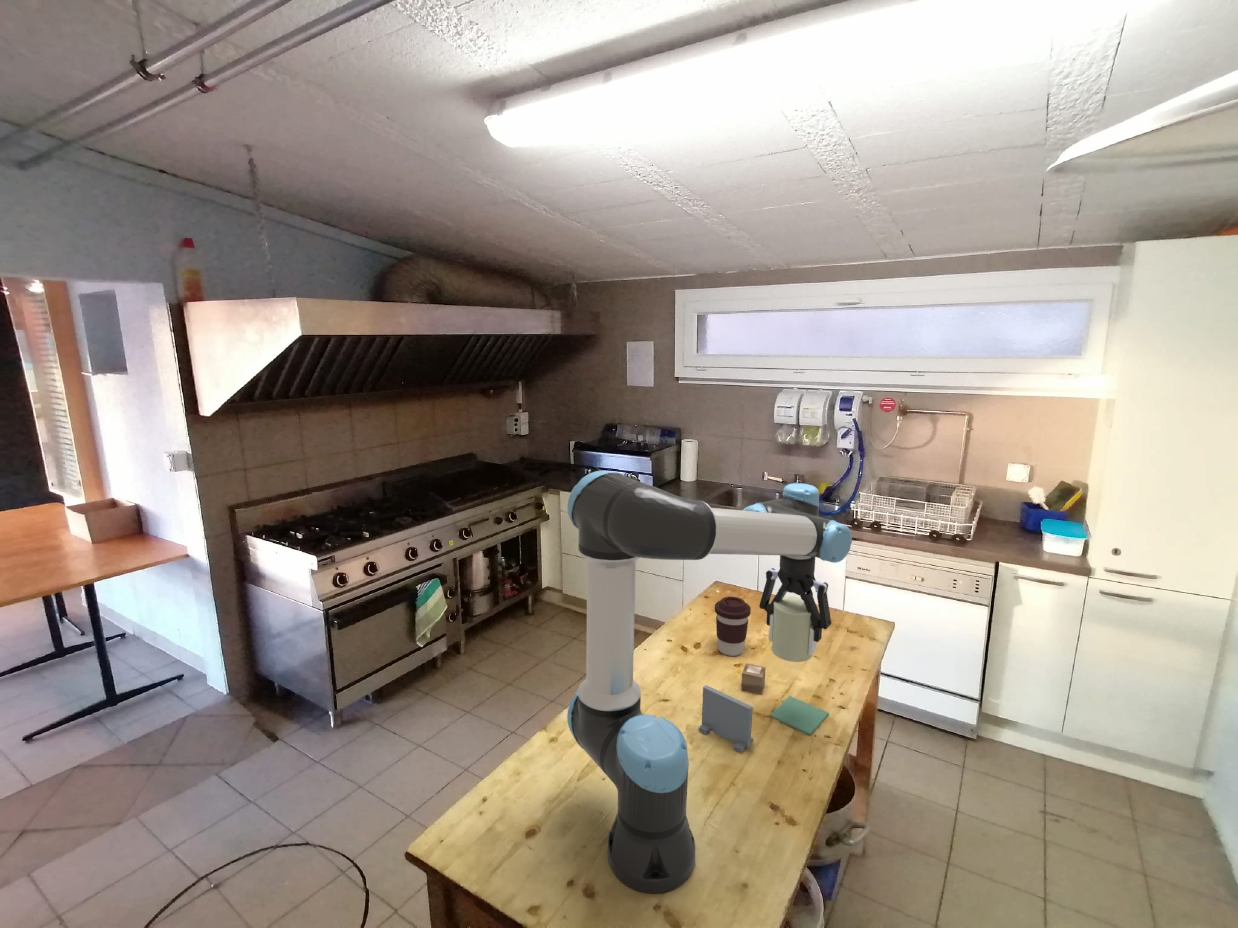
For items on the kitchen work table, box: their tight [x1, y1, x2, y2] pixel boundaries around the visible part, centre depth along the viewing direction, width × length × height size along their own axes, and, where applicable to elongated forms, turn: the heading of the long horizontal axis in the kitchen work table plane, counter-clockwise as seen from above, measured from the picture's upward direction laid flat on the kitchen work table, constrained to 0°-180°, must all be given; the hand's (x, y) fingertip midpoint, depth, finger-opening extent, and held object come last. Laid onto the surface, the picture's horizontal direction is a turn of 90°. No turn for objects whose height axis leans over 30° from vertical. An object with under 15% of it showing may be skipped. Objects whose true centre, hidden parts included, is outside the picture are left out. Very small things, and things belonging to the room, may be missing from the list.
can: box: [770, 596, 814, 663], centre depth 135 cm, size 9×9×12 cm
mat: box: [769, 695, 830, 737], centre depth 139 cm, size 10×10×1 cm
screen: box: [698, 684, 754, 754], centre depth 131 cm, size 5×12×10 cm, turn 48°
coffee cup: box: [714, 596, 752, 657], centre depth 167 cm, size 10×10×15 cm
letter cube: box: [740, 662, 766, 696], centre depth 150 cm, size 5×5×5 cm
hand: (792, 645), depth 136 cm, fingers closed on can, 9 cm apart
